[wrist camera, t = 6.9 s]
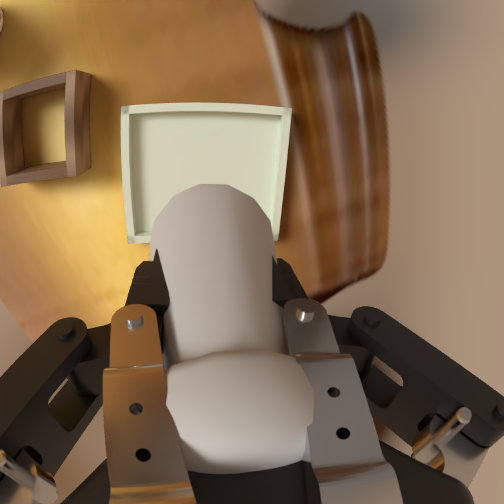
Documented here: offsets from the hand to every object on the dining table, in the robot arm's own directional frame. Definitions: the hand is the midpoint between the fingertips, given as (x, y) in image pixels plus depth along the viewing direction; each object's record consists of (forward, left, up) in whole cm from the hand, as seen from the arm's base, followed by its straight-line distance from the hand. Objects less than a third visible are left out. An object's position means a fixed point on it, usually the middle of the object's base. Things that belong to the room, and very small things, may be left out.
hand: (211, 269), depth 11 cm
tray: (0, 0, -19) cm, 19 cm away
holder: (-6, -17, -19) cm, 26 cm away
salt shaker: (0, 0, -5) cm, 5 cm away
